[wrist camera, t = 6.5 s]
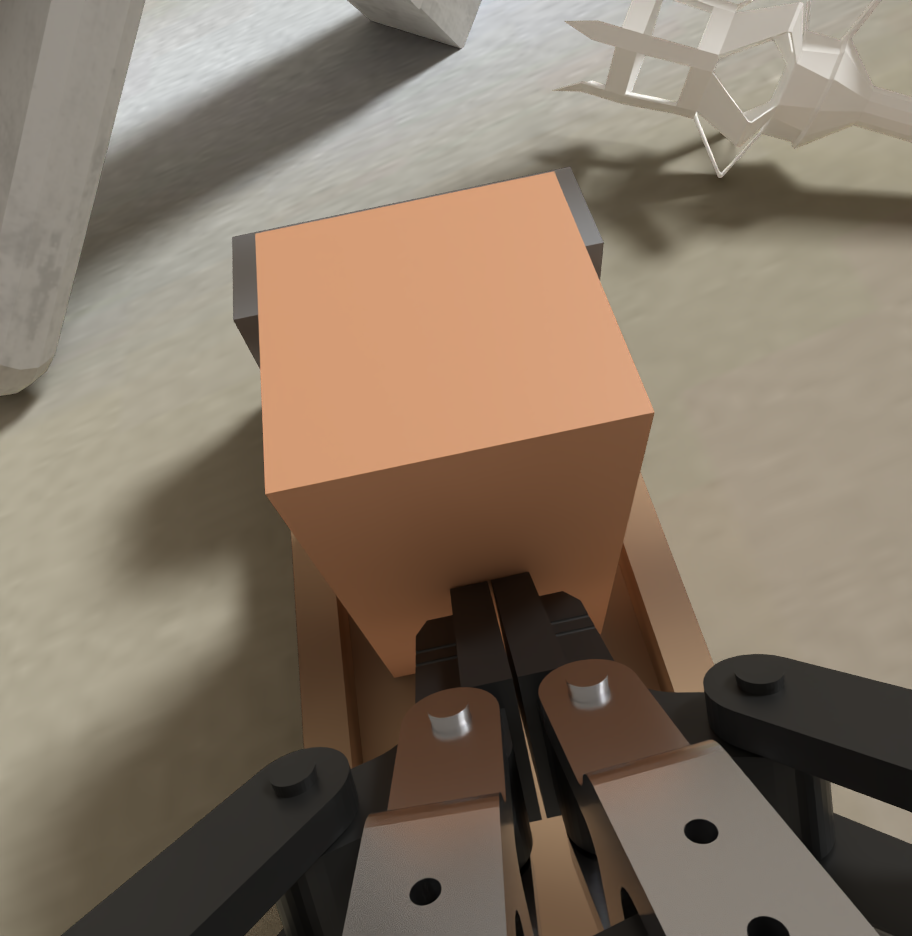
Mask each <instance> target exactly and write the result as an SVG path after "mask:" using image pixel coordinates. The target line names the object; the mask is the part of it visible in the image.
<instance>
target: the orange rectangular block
mask: <svg viewBox="0 0 912 936" xmlns="http://www.w3.org/2000/svg"><path fill="white" fill-rule="evenodd" d="M255 241H256V267H257V293H258V319H259V345H260V371H261V397H262V423H263V448H264V474H265V494H266V496H267V497H268V499H269V500H270V502H271V503H272V504H273V506H274V507H275V509H276V510H277V512H278V513H279V514H280V516H281V517H282V519H283V520H284V522H285V523H286V524H287V526H288V527H289V529H290V530H291V532H292V533H293V534H294V536H295V537H296V539H297V540H298V541H299V543H300V544H301V546H302V547H303V549H304V550H305V551H306V553H307V554H308V556H309V557H310V559H311V560H312V561H313V563H314V564H315V566H316V567H317V569H318V570H319V571H320V573H321V574H322V576H323V577H324V578H325V580H326V581H327V583H328V584H329V586H330V587H331V588H332V590H333V591H334V593H335V594H336V596H337V597H338V598H339V600H340V601H341V603H342V604H343V606H344V607H345V608H346V610H347V611H348V613H349V614H350V616H351V617H352V618H353V620H354V621H355V623H356V624H357V625H358V627H359V628H360V630H361V631H362V633H363V634H364V635H365V637H366V638H367V640H368V641H369V643H370V644H371V645H372V647H373V648H374V650H375V651H376V653H377V654H378V655H379V657H380V658H381V660H382V661H383V663H384V664H385V665H386V667H387V668H388V670H389V671H390V672H391V674H392V675H393V677H394V678H396V677H401V676H406V675H411V674H415V667H416V664H415V663H416V635H417V634H418V632H419V631H420V629H421V628H422V627H423V625H424V624H425V622H426V621H427V620H431V619H436V618H441V617H445V616H450V615H453V613H452V604H451V596H450V589H452V588H457V587H461V586H466V585H471V584H475V583H480V582H484V581H488V585H489V589H490V593H491V596H492V600H493V604H494V608H495V612H496V616H497V620H498V624H499V628H500V632H501V635H502V631H501V626H500V622H499V617H498V612H497V607H496V603H495V598H494V593H493V588H492V583H491V580H493V579H498V578H502V577H507V576H512V575H516V574H521V573H526V572H529V573H530V575H531V578H532V580H533V582H534V585H535V587H536V590H537V592H538V594H539V596H542V595H546V594H551V593H556V592H560V591H564V592H566V593H568V594H570V595H571V596H573V597H575V598H577V599H579V600H581V602H582V604H583V606H584V607H585V609H586V611H587V613H588V616H589V617H590V618H591V620H592V622H593V623H594V625H595V628H596V629H597V631H598V632H599V634H601V632H602V628H603V624H604V620H605V616H606V611H607V607H608V603H609V599H610V595H611V591H612V587H613V582H614V578H615V574H616V570H617V566H618V562H619V557H620V553H621V549H622V545H623V541H624V537H625V533H626V528H627V524H628V520H629V516H630V512H631V508H632V503H633V499H634V495H635V491H636V487H637V483H638V479H639V474H640V470H641V466H642V462H643V458H644V454H645V449H646V445H647V441H648V437H649V433H650V429H651V425H652V420H653V416H654V410H653V407H652V405H651V403H650V400H649V398H648V395H647V393H646V391H645V388H644V386H643V383H642V381H641V379H640V376H639V374H638V371H637V369H636V367H635V364H634V362H633V359H632V357H631V355H630V352H629V350H628V347H627V345H626V343H625V340H624V338H623V335H622V333H621V331H620V328H619V326H618V323H617V321H616V319H615V316H614V314H613V311H612V309H611V307H610V304H609V302H608V299H607V297H606V295H605V292H604V290H603V287H602V285H601V283H600V280H599V278H598V275H597V273H596V271H595V268H594V266H593V263H592V261H591V259H590V256H589V254H588V251H587V249H586V247H585V244H584V242H583V239H582V237H581V235H580V232H579V230H578V227H577V225H576V223H575V220H574V218H573V215H572V213H571V211H570V208H569V206H568V203H567V201H566V199H565V196H564V194H563V191H562V189H561V187H560V184H559V182H558V179H557V177H556V175H555V172H554V171H553V172H549V173H544V174H539V175H534V176H530V177H525V178H520V179H515V180H510V181H506V182H501V183H496V184H491V185H486V186H482V187H477V188H472V189H467V190H462V191H458V192H453V193H448V194H443V195H438V196H434V197H429V198H424V199H419V200H414V201H410V202H405V203H400V204H395V205H390V206H386V207H381V208H376V209H371V210H366V211H362V212H357V213H352V214H347V215H342V216H338V217H333V218H328V219H323V220H319V221H314V222H309V223H304V224H299V225H295V226H290V227H285V228H280V229H275V230H271V231H266V232H261V233H256V234H255ZM502 639H503V636H502ZM503 643H504V641H503ZM504 647H505V646H504ZM505 651H506V650H505Z"/></svg>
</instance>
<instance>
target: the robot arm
mask: <svg viewBox="0 0 912 936" xmlns="http://www.w3.org/2000/svg"><path fill="white" fill-rule="evenodd" d="M491 583H492V588H493V593H494V598H495V603H496V607H497V612H498V617H499V622H500V626H501V631H502V635H501V632H500V628H499V624H498V620H497V616H496V612H495V608H494V604H493V600H492V596H491V593H490V589H489V585H488V581H484V582H480V583H475V584H471V585H466V586H461V587H457V588H452V589H450V596H451V604H452V613H453V615H450V616H445V617H441V618H436V619H431V620H427V621H426V622H425V624H424V625H423V627H422V628H421V629H420V631H419V632H418V634H417V635H416V663H415V664H416V667H415V705H413V706H412V707H411V708H410V709H409V710H408V712H407V713H406V714H405V716H404V718H403V720H402V723H401V728H400V734H399V741H398V744H397V745H396V746H394V747H393V748H392V749H390V750H389V751H387V752H386V753H384V754H382V755H380V756H378V757H376V758H374V759H372V760H370V761H367V762H365V763H363V764H361V765H358V766H356V767H354V768H352V769H350V765H349V762H348V759H347V758H346V756H345V755H344V754H343V753H341V752H340V751H338V750H336V749H333V748H328V747H312V748H306V749H302V750H298V751H295V752H292V753H289V754H287V755H285V756H283V757H281V758H279V759H277V760H275V761H273V762H272V763H270V764H269V765H267V766H266V767H265V768H263V769H262V770H261V771H259V772H258V773H257V774H256V775H255V776H253V777H252V778H251V779H250V780H248V781H247V782H246V783H245V784H244V785H242V786H241V787H240V788H239V789H238V790H236V791H235V792H234V793H233V794H232V795H230V796H229V797H228V798H227V799H225V800H224V801H223V802H222V803H221V804H219V805H218V806H217V807H216V808H215V809H213V810H212V811H211V812H210V813H209V814H207V815H206V816H205V817H204V818H203V819H201V820H200V821H199V822H198V823H196V824H195V825H194V826H193V827H192V828H190V829H189V830H188V831H187V832H186V833H184V834H183V835H182V836H181V837H180V838H178V839H177V840H176V841H175V842H173V843H172V844H171V845H170V846H169V847H167V848H166V849H165V850H164V851H163V852H161V853H160V854H159V855H158V856H157V857H155V858H154V859H153V860H152V861H150V862H149V863H148V864H147V865H146V866H144V867H143V868H142V869H141V870H140V871H138V872H137V873H136V874H135V875H134V876H132V877H131V878H130V879H129V880H128V881H126V882H125V883H124V884H123V885H121V886H120V887H119V888H118V889H117V890H115V891H114V892H113V893H112V894H111V895H109V896H108V897H107V898H106V899H105V900H103V901H102V902H101V903H100V904H98V905H97V906H96V907H95V908H94V909H92V910H91V911H90V912H89V913H88V914H86V915H85V916H84V917H83V918H82V919H80V920H79V921H78V922H77V923H75V924H74V925H73V926H72V927H71V928H69V929H68V930H67V931H66V932H65V933H63V934H62V935H61V936H244V935H245V934H246V933H247V932H248V931H249V930H250V929H251V928H252V927H253V926H254V925H255V924H256V923H257V922H258V921H259V920H260V919H261V918H262V917H263V916H264V914H265V913H266V912H267V911H268V910H269V909H270V908H271V907H272V906H273V905H274V904H275V903H276V906H277V909H278V912H279V915H280V919H281V922H282V925H283V929H282V930H281V932H280V933H279V934H278V935H277V936H542V929H541V920H540V911H539V902H538V894H537V885H536V876H535V870H534V865H533V860H532V856H531V851H532V846H533V838H532V833H531V828H530V822H534V821H539V820H542V817H541V812H540V807H539V803H538V798H537V793H536V788H535V784H534V779H533V774H532V769H531V764H530V760H529V755H528V750H527V745H526V740H525V736H524V731H523V726H524V730H525V734H526V738H527V742H528V746H529V750H530V754H531V758H532V762H533V766H534V769H535V773H536V777H537V781H538V785H539V789H540V793H541V797H542V801H543V805H544V809H545V813H546V817H547V818H552V817H556V816H561V815H562V818H563V822H564V825H565V829H566V834H567V839H568V844H569V849H570V854H571V859H572V862H573V866H574V868H575V871H576V873H577V876H578V879H579V881H580V884H581V887H582V889H583V892H584V894H585V897H586V900H587V902H588V905H589V908H590V910H591V913H592V915H593V918H594V921H595V923H596V926H597V929H598V931H599V933H597V934H595V935H593V936H912V844H910V843H907V842H905V841H902V840H900V839H897V838H895V837H892V836H890V835H887V834H885V833H882V832H880V831H877V830H875V829H872V828H870V827H867V826H865V825H862V824H860V823H857V822H855V821H852V820H850V819H848V818H845V817H843V816H840V815H838V814H835V813H833V806H832V795H831V784H830V782H832V783H835V784H837V785H840V786H843V787H845V788H848V789H851V790H853V791H856V792H859V793H861V794H864V795H867V796H870V797H872V798H875V799H878V800H880V801H883V802H886V803H888V804H891V805H894V806H896V807H899V808H902V809H905V810H907V811H910V812H912V690H911V689H907V688H903V687H899V686H895V685H891V684H887V683H883V682H879V681H875V680H871V679H867V678H863V677H859V676H855V675H852V674H848V673H844V672H840V671H836V670H832V669H828V668H824V667H820V666H816V665H812V664H808V663H804V662H800V661H796V660H793V659H789V658H785V657H780V656H775V655H766V654H751V655H741V656H736V657H732V658H728V659H726V660H723V661H721V662H719V663H717V664H715V665H714V666H713V667H711V668H710V669H709V670H708V671H707V673H706V674H705V676H704V680H703V687H704V692H663V691H656V690H651V689H648V688H646V686H645V685H644V684H643V682H642V681H641V680H640V678H639V677H638V676H637V674H636V673H635V672H634V671H633V670H632V669H630V668H629V667H627V666H626V665H623V664H621V663H618V662H615V661H614V659H613V657H612V656H611V654H610V652H609V650H608V648H607V647H606V645H605V643H604V641H603V640H602V638H601V636H600V634H599V632H598V631H597V629H596V628H595V625H594V623H593V622H592V620H591V618H590V617H589V616H588V613H587V611H586V609H585V607H584V606H583V604H582V602H581V600H579V599H577V598H575V597H573V596H571V595H570V594H568V593H566V592H564V591H560V592H556V593H551V594H546V595H542V596H539V594H538V592H537V590H536V587H535V585H534V582H533V580H532V578H531V575H530V573H529V572H526V573H521V574H516V575H512V576H507V577H502V578H498V579H493V580H491ZM502 636H503V639H502ZM503 641H504V643H503ZM504 646H505V647H504ZM505 650H506V651H505ZM518 706H519V707H518ZM519 710H520V712H519ZM520 714H521V717H520ZM521 718H522V721H521ZM522 722H523V726H522Z"/></svg>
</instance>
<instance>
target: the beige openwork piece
mask: <svg viewBox="0 0 912 936" xmlns="http://www.w3.org/2000/svg"><path fill="white" fill-rule="evenodd" d="M662 1H663V0H632V1H631V4H630V7H629V9H628V12H627V15H626V17H625V20H624V23H623V25H622V27H618V26H615V25H611V24H608V23H604V22H601V21H565V22H566V23H568V24H569V25H571V26H572V27H574V28H575V29H577V30H578V31H580V32H581V33H583V34H584V35H586V36H587V37H589V38H590V39H592V40H595V41H598V42H602V43H605V44H609V45H612V46H615V51H614V55H613V59H612V62H611V66H610V70H609V74H608V78H607V82H606V85H605V84H601V83H598V82H595V81H589V82H584V81H582V82H578V83H575V84H572V85H568V86H565V87H562V88H558V89H555V90H552V91H581V92H585V93H588V94H591V95H594V96H598V97H601V98H604V99H608V100H611V101H614V102H618V103H621V104H625V105H630V106H636V107H641V108H646V109H652V110H657V111H663V112H668V113H673V114H677V115H681V116H684V117H688V118H692V119H694V121H695V124H696V126H697V129H698V131H699V133H700V136H701V138H702V140H703V143H704V145H705V148H706V150H707V152H708V155H709V157H710V159H711V162H712V164H713V166H714V169H715V171H716V174H717V176H718V178H722V177H723V176H724V175H725V174H726V173H727V171H728V170H729V169H730V168H731V167H732V166H733V165H734V164H735V163H736V162H737V160H738V159H739V158H740V157H741V156H742V155H743V154H744V153H745V152H746V151H747V149H748V148H749V147H750V146H751V145H752V144H753V143H754V142H755V141H756V140H757V138H758V137H759V136H760V135H761V134H764V135H767V136H771V137H775V138H779V139H783V140H787V141H790V142H792V147H793V148H794V149H795V148H798V147H800V146H803V145H805V144H808V143H810V142H813V141H815V140H818V139H820V138H823V137H825V136H828V135H830V134H833V133H835V132H838V131H840V130H843V129H845V128H848V127H850V126H853V125H854V126H858V127H861V128H864V129H868V130H871V131H875V132H878V133H881V134H885V135H888V136H891V137H895V138H898V139H901V140H905V141H908V142H912V97H911V96H908V95H904V94H901V93H897V92H894V91H890V90H887V89H883V88H880V87H877V86H874V85H873V83H872V81H871V79H870V77H869V75H868V73H867V70H866V68H865V66H864V64H863V62H862V60H861V58H860V56H859V54H858V51H857V49H856V47H855V45H854V43H853V41H852V39H851V38H852V37H853V36H854V35H855V33H856V32H857V31H858V29H859V28H860V27H861V26H862V24H863V23H864V22H865V21H866V19H867V18H868V17H869V16H870V14H871V13H872V12H873V10H874V9H875V8H876V7H877V5H878V4H879V3H880V2H881V0H872V1H871V3H870V4H869V5H868V7H867V8H866V9H865V10H864V12H863V13H862V14H861V15H860V17H859V18H858V19H857V20H856V22H855V23H854V24H853V26H852V27H851V28H850V29H849V31H848V32H847V33H846V34H845V36H844V37H843V38H841V39H837V38H833V37H830V36H827V35H823V34H820V33H816V32H813V31H809V30H808V25H809V17H810V8H811V0H807V7H806V17H805V28H804V33H803V3H801V2H797V3H790V4H784V5H778V6H772V7H766V8H760V9H754V10H748V11H742V12H736V11H738V10H739V9H741V8H743V7H744V6H746V5H748V4H749V3H751V2H753V1H754V0H745V1H743V2H742V3H740V4H734V3H731V2H728V1H724V0H673V1H676V2H679V3H682V4H685V5H688V6H691V7H694V8H697V9H700V10H703V11H706V12H709V13H711V15H710V18H709V20H708V23H707V25H706V28H705V31H704V33H703V36H702V38H701V41H700V44H699V46H698V49H696V48H692V47H689V46H685V45H682V44H678V43H675V42H671V41H667V40H664V39H660V38H657V37H653V36H652V35H653V31H654V28H655V25H656V21H657V18H658V15H659V11H660V8H661V5H662ZM790 34H791V36H790ZM771 40H772V41H774V42H775V44H776V46H777V47H778V49H779V51H780V53H781V55H782V57H783V59H784V61H785V63H786V66H785V68H784V71H783V73H782V75H781V77H780V80H779V82H778V84H777V87H776V89H775V91H774V93H773V96H772V98H771V100H770V101H769V102H767V103H764V104H762V105H760V106H757V107H755V108H753V109H750V110H748V111H746V112H743V113H742V111H741V110H740V108H739V107H738V106H737V104H736V103H735V102H734V100H733V99H732V98H731V96H730V95H729V94H728V92H727V91H726V89H725V88H724V86H723V85H722V83H721V82H720V80H719V79H718V77H717V76H716V74H715V73H714V71H715V68H716V66H717V63H718V61H719V59H720V58H723V57H726V56H729V55H731V54H734V53H737V52H740V51H743V50H746V49H748V48H751V47H754V46H757V45H760V44H762V43H765V42H768V41H771ZM791 40H792V41H791ZM645 56H650V57H654V58H658V59H662V60H666V61H670V62H674V63H678V64H682V65H686V66H690V70H689V73H688V76H687V78H686V81H685V84H684V87H683V89H682V92H681V95H680V98H679V100H678V102H676V101H671V100H666V99H661V98H656V97H651V96H646V95H641V94H636V93H631V92H632V90H633V87H634V84H635V82H636V79H637V77H638V74H639V71H640V69H641V66H642V63H643V61H644V58H645ZM697 113H698V114H699V115H701V116H702V117H703V118H704V119H705V120H706V121H708V122H709V123H710V124H711V125H712V126H713V127H714V128H716V129H717V130H718V131H719V132H720V133H721V134H723V135H724V136H725V137H726V138H727V139H728V140H729V141H731V142H732V143H733V144H734V145H735V146H737V147H741V146H742V145H743V144H744V143H745V142H746V141H747V140H748V139H749V138H750V137H751V136H752V135H754V134H755V133H756V132H757V131H758V130H759V129H760V128H761V129H760V132H759V133H758V134H757V135H756V136H755V137H754V138H753V139H752V140H751V141H750V142H749V144H748V145H747V146H746V147H745V148H744V149H743V150H742V151H741V152H740V153H739V154H738V155H737V156H736V157H735V159H734V160H733V161H732V162H731V163H730V164H729V165H728V166H727V167H726V168H725V169H724V170H723V171H722V172H720V171H719V169H718V167H717V164H716V162H715V159H714V157H713V154H712V152H711V149H710V147H709V144H708V142H707V139H706V137H705V134H704V132H703V129H702V127H701V125H700V122H699V120H698V117H697Z"/></svg>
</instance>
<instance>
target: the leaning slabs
mask: <svg viewBox="0 0 912 936" xmlns="http://www.w3.org/2000/svg"><path fill="white" fill-rule="evenodd" d="M347 1H349V2H350V3H351V4H352V5H353V6H354V7H355V8H357V9H358V10H359V11H360V12H361V13H362V14H364V15H365V16H366V17H367V18H368V19H369V20H371V21H374V22H377V23H380V24H383V25H387V26H390V27H393V28H396V29H399V30H403V31H406V32H409V33H412V34H416V35H419V36H422V37H425V38H428V39H432V40H435V41H438V42H441V43H444V44H448V45H451V46H454V47H457V48H460V49H462V48H463V47H464V45H465V42H466V40H467V37H468V35H469V32H470V29H471V27H472V24H473V22H474V19H475V16H476V14H477V11H478V8H479V6H480V3H481V1H482V0H347ZM144 3H145V0H0V396H2V395H9V394H15V393H18V392H19V391H21V390H23V389H24V388H26V387H27V386H29V385H31V384H32V383H33V382H34V381H35V380H37V379H38V378H39V377H40V376H41V375H43V374H44V373H45V372H46V371H47V369H48V367H49V365H50V363H51V362H52V360H53V358H54V356H55V353H56V349H57V345H58V341H59V337H60V333H61V329H62V326H63V322H64V318H65V314H66V310H67V306H68V302H69V298H70V294H71V290H72V286H73V282H74V278H75V274H76V271H77V267H78V263H79V259H80V255H81V251H82V247H83V243H84V239H85V235H86V231H87V227H88V223H89V219H90V216H91V212H92V208H93V204H94V200H95V196H96V192H97V188H98V184H99V180H100V176H101V172H102V168H103V164H104V160H105V157H106V153H107V149H108V145H109V141H110V137H111V133H112V129H113V125H114V121H115V117H116V113H117V109H118V105H119V102H120V98H121V94H122V90H123V86H124V82H125V78H126V74H127V70H128V66H129V62H130V58H131V54H132V50H133V47H134V43H135V39H136V35H137V31H138V27H139V23H140V19H141V15H142V11H143V7H144Z"/></svg>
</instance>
